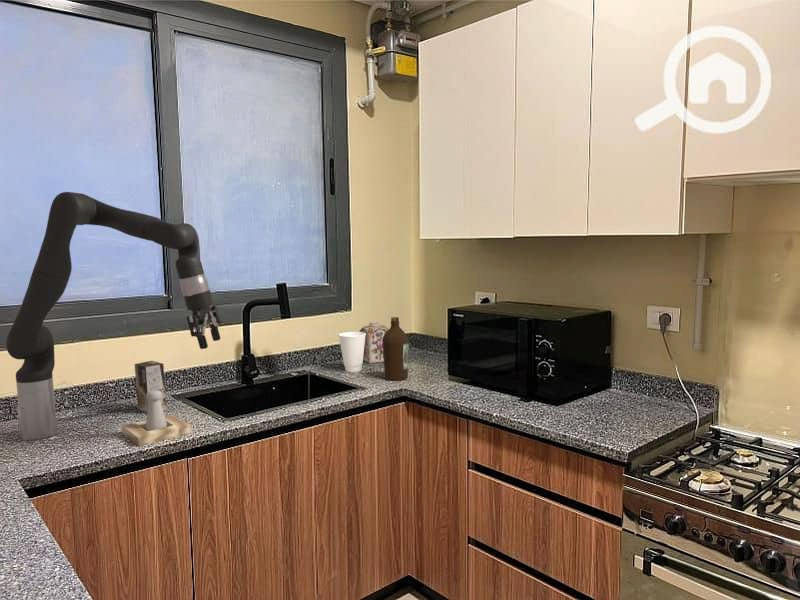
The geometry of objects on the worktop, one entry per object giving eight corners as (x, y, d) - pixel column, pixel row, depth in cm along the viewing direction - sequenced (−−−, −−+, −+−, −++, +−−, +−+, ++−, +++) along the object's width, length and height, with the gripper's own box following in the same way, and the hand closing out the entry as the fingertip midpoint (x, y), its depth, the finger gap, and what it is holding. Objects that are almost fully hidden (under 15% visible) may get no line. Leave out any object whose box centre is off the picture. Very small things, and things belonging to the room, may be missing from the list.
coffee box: (167, 409, 198) (164, 363, 196) (148, 414, 193) (145, 366, 191) (155, 404, 204) (152, 360, 202) (137, 409, 199) (133, 363, 197)
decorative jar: (369, 363, 263) (368, 325, 261) (358, 359, 273) (357, 322, 271) (392, 360, 269) (391, 322, 267) (381, 356, 279) (380, 319, 277)
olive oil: (380, 381, 230) (379, 319, 228) (386, 374, 241) (384, 315, 238) (406, 381, 228) (405, 319, 226) (411, 375, 239) (410, 315, 236)
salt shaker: (161, 429, 177) (158, 387, 175) (170, 432, 173) (168, 390, 172) (142, 434, 172) (139, 391, 171) (152, 438, 169) (149, 394, 167)
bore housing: (138, 446, 162) (138, 437, 162) (122, 433, 173) (121, 425, 173) (191, 433, 172) (190, 425, 172) (172, 422, 183) (172, 414, 183)
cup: (351, 366, 259) (350, 331, 258) (372, 369, 252) (371, 333, 251) (334, 371, 250) (332, 334, 248) (354, 374, 243) (353, 337, 241)
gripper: (195, 289, 175) (210, 339, 178) (172, 298, 161) (187, 353, 164) (218, 284, 174) (232, 335, 177) (196, 293, 160) (211, 349, 163)
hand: (210, 344), depth 170 cm, fingers open, 8 cm apart
